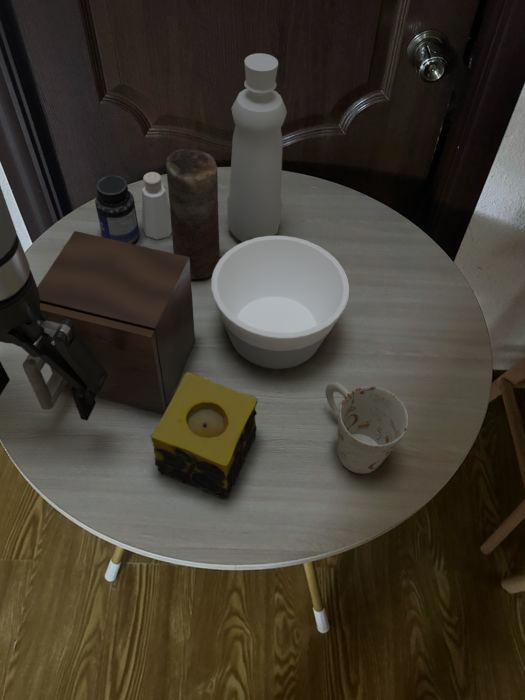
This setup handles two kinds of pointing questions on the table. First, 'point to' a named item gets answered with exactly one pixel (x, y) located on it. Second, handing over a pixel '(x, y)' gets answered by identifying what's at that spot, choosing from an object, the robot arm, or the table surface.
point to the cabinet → (128, 293)
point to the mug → (367, 425)
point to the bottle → (256, 152)
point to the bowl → (279, 298)
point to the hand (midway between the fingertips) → (45, 399)
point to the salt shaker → (155, 208)
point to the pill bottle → (116, 210)
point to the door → (106, 362)
